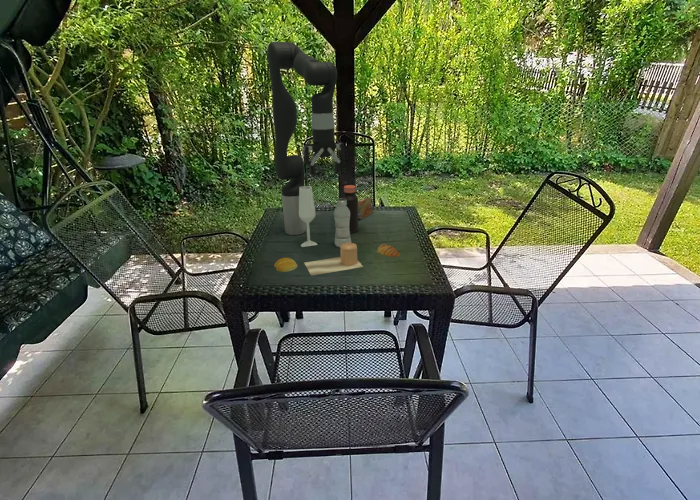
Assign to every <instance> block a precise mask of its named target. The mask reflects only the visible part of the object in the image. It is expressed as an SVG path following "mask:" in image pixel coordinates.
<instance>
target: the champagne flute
mask: <svg viewBox="0 0 700 500" xmlns="http://www.w3.org/2000/svg"><path fill="white" fill-rule="evenodd" d="M299 217H300V218H301V220H303V221H304V222H305V224H306V239H307V240H306V241H304V242H302V244H300V247H301V248H304V247H311V246H318V243H317V242H315V241H313V240H311V232H310V231H311V229H310V223H312V221H313V220H314V219H315V217H316V208H315V201H314V194H313V189H312V186H309V185H304V186H302V187H300V188H299Z"/></svg>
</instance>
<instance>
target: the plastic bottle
mask: <svg viewBox="0 0 700 500" xmlns="http://www.w3.org/2000/svg"><path fill="white" fill-rule="evenodd" d="M336 205H337V206H336V207H335V209H334V210H333V213H332V214H333V218H334V226H335V236H334V245H335V247H337V248H341V244H343V243H352V239H351V238H352V237H351V233H350V231H349V221H350V210H349V209H348V207H347V206H346V205H347V200H346V199H342V198H337V199H336Z"/></svg>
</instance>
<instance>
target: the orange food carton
mask: <svg viewBox="0 0 700 500" xmlns="http://www.w3.org/2000/svg"><path fill="white" fill-rule="evenodd" d="M373 210H374V200H373V198H371V197H364V198H362V199H360V200H358V220H363V219H365V218H367V217H368V216H370V215H371V214H372V213H373Z"/></svg>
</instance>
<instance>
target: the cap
mask: <svg viewBox="0 0 700 500" xmlns="http://www.w3.org/2000/svg"><path fill="white" fill-rule="evenodd" d="M339 248H340V257H341V263H342V264H343V265H346V266H351V265H355V264H357V260H358V247H357V244H356V243H354V242H351V243H343V244H341V247H339Z"/></svg>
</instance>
